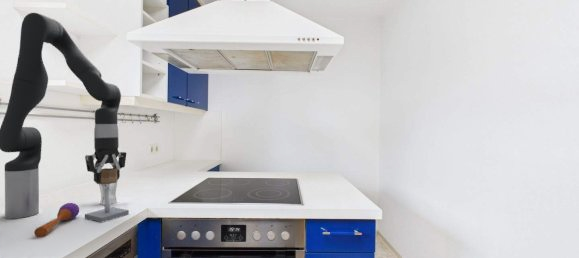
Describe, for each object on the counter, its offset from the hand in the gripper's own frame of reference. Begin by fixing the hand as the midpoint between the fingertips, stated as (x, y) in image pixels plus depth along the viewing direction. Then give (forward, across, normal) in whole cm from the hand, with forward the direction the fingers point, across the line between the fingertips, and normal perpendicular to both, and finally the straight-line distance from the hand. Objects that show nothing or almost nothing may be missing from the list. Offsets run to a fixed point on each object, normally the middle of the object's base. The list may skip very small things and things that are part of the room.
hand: (107, 181), depth 104 cm
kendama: (+14, +13, -5) cm, 20 cm away
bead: (+1, 0, 0) cm, 1 cm away
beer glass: (+13, -11, -17) cm, 24 cm away
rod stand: (+13, 0, 0) cm, 13 cm away
